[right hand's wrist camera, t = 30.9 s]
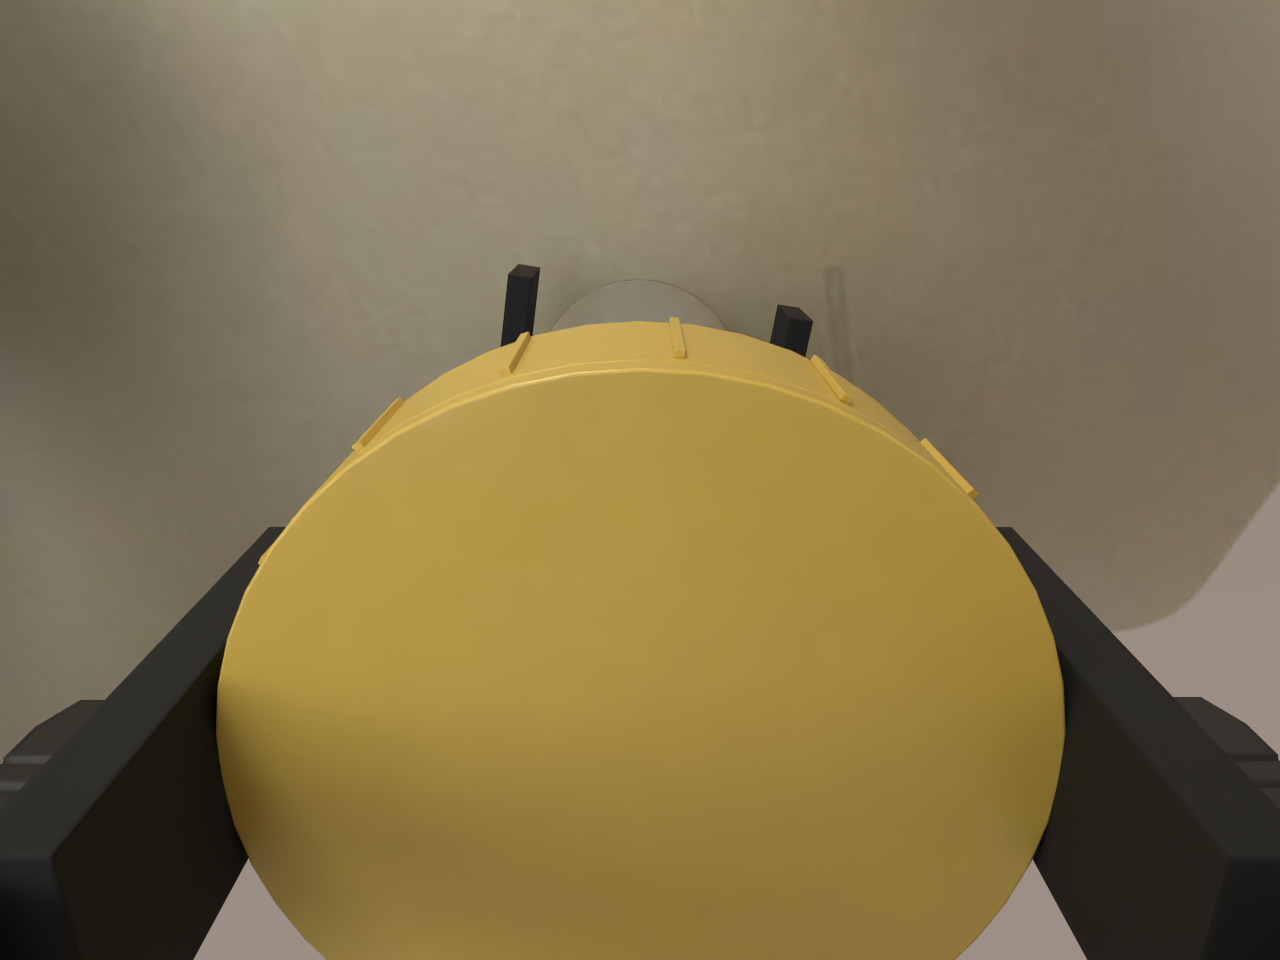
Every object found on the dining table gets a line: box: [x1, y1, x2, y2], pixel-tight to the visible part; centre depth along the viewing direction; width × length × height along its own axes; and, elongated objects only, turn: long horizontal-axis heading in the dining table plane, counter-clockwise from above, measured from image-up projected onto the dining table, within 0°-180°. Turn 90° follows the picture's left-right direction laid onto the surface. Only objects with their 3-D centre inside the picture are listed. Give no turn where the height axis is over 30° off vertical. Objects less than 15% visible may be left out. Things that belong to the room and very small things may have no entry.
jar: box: [550, 280, 726, 332], centre depth 31 cm, size 8×8×16 cm
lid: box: [216, 317, 1066, 960], centre depth 11 cm, size 10×10×2 cm
